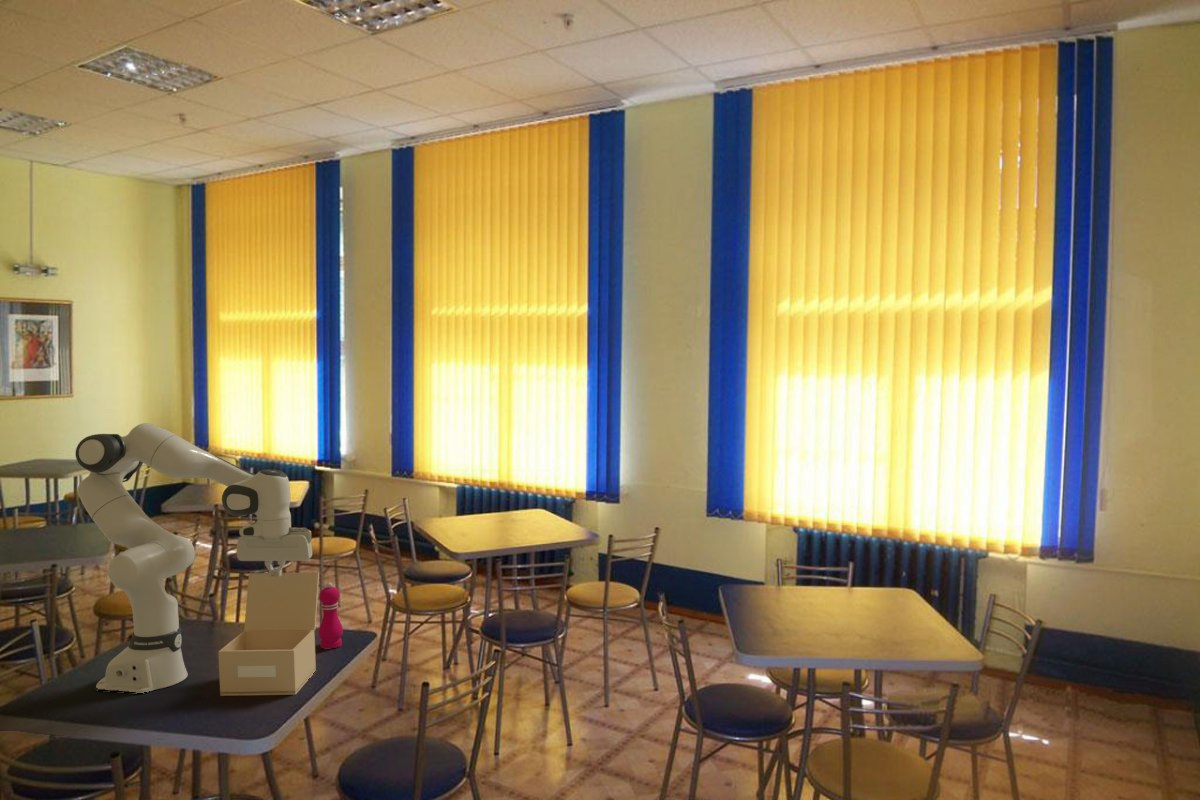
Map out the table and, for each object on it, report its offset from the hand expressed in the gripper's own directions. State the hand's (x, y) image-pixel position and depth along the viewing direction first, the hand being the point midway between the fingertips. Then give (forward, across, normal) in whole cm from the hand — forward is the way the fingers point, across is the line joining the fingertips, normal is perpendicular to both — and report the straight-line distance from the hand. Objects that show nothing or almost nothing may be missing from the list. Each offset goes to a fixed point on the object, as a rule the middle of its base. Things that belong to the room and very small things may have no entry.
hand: (275, 575), depth 235 cm
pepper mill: (+28, -9, -21) cm, 36 cm away
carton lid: (+8, 0, -3) cm, 9 cm away
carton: (+28, -1, +7) cm, 29 cm away
